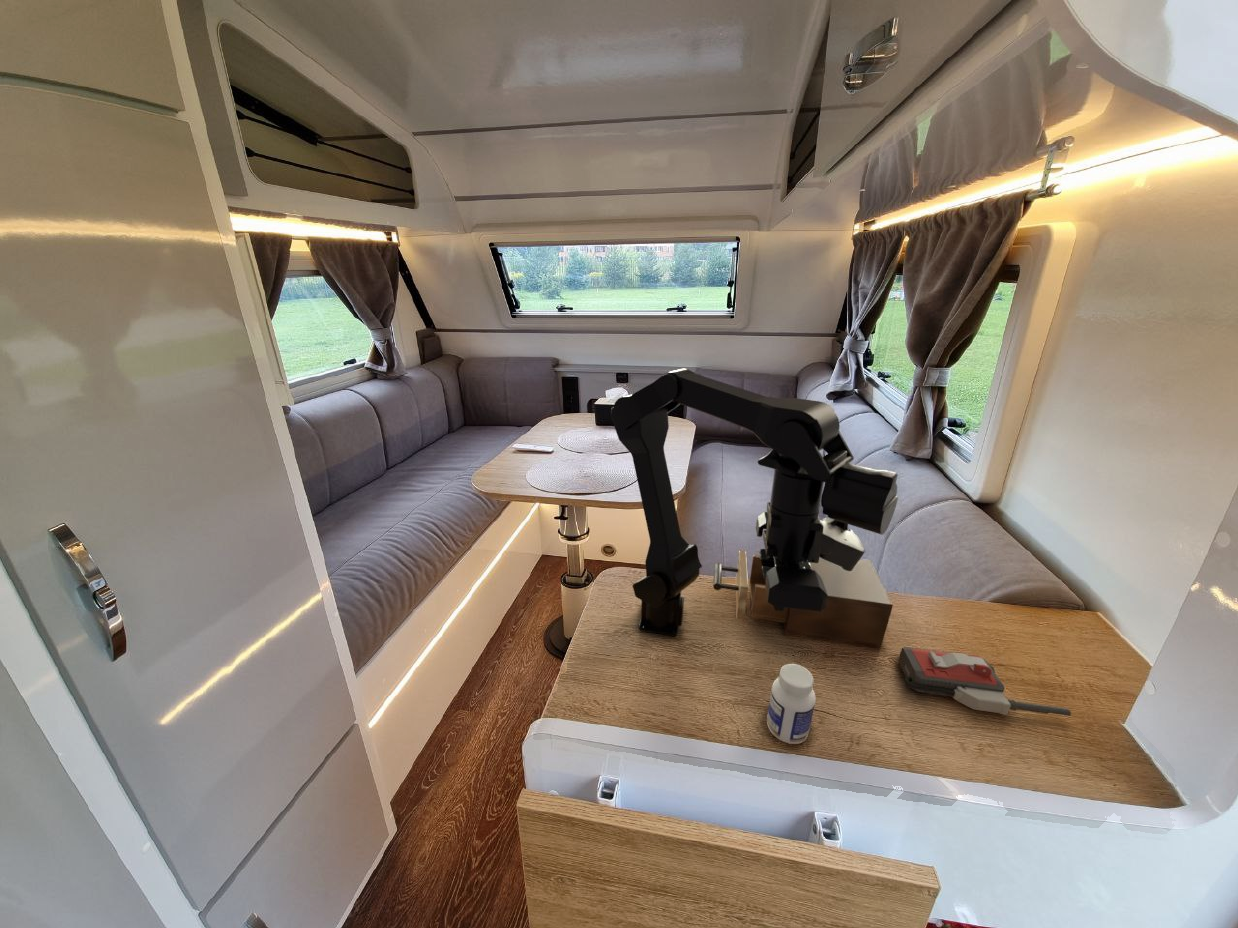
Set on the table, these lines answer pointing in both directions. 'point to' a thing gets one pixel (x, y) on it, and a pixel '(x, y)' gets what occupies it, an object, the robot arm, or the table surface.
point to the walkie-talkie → (962, 681)
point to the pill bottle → (791, 704)
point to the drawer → (757, 589)
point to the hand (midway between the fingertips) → (778, 609)
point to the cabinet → (846, 607)
